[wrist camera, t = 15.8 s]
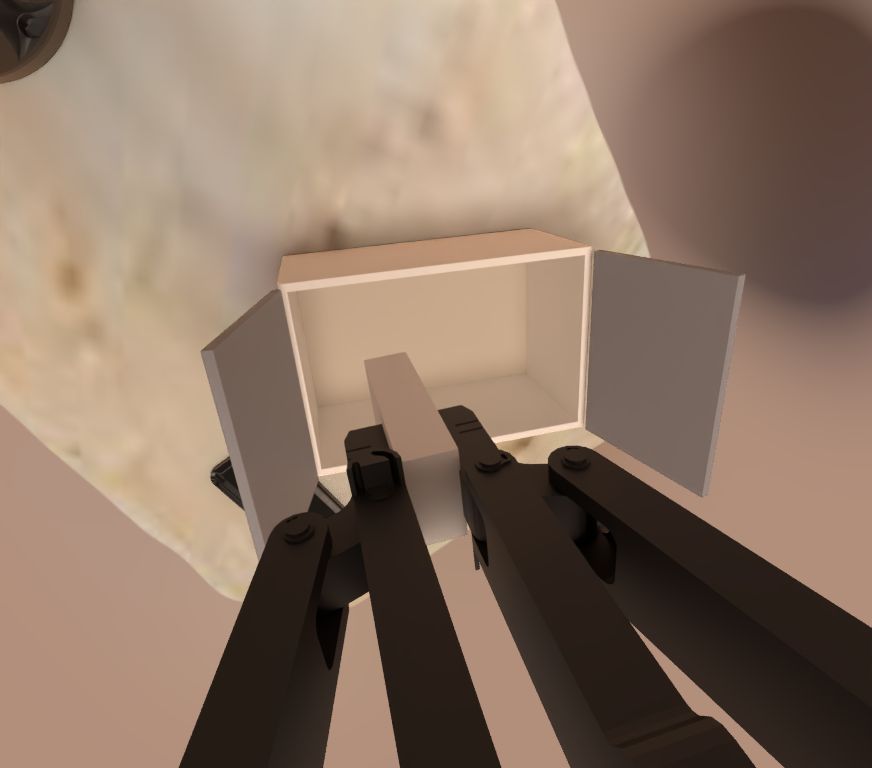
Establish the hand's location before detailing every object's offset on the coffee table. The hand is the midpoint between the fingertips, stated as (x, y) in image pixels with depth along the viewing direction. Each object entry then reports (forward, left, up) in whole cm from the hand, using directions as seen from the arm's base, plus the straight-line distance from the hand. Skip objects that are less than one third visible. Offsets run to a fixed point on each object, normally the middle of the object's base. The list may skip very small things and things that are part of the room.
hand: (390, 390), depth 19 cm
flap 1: (+8, -6, -14) cm, 17 cm away
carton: (+8, +7, -33) cm, 35 cm away
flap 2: (+8, +20, -14) cm, 26 cm away
